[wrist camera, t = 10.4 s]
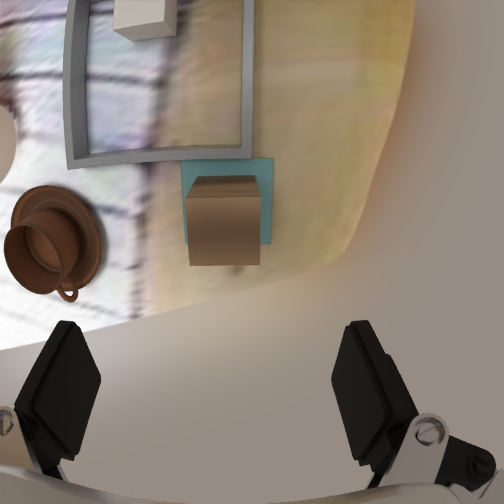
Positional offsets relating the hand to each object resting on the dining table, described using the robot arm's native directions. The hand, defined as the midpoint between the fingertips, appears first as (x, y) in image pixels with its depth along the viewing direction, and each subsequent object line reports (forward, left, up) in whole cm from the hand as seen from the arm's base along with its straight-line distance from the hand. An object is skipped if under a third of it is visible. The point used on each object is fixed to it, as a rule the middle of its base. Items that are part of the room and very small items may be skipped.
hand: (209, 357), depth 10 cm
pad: (+1, 0, -20) cm, 20 cm away
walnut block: (+1, 0, -19) cm, 19 cm away
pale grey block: (-17, -6, -20) cm, 27 cm away
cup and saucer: (+4, -18, -20) cm, 27 cm away
